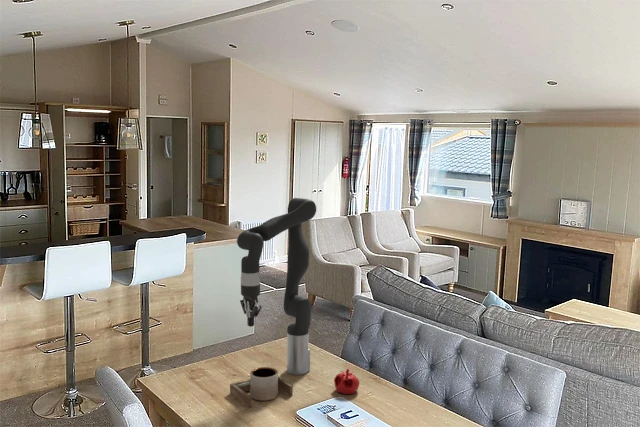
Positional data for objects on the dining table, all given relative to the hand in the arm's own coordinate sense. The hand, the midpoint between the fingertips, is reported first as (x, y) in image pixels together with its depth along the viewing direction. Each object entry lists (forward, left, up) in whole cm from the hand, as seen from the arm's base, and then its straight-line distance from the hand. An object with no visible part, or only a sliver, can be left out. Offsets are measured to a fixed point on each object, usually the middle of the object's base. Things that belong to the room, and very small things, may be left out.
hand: (250, 325), depth 223 cm
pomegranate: (-32, +22, -27) cm, 47 cm away
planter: (-2, +7, -27) cm, 28 cm away
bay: (-2, +6, -27) cm, 27 cm away
